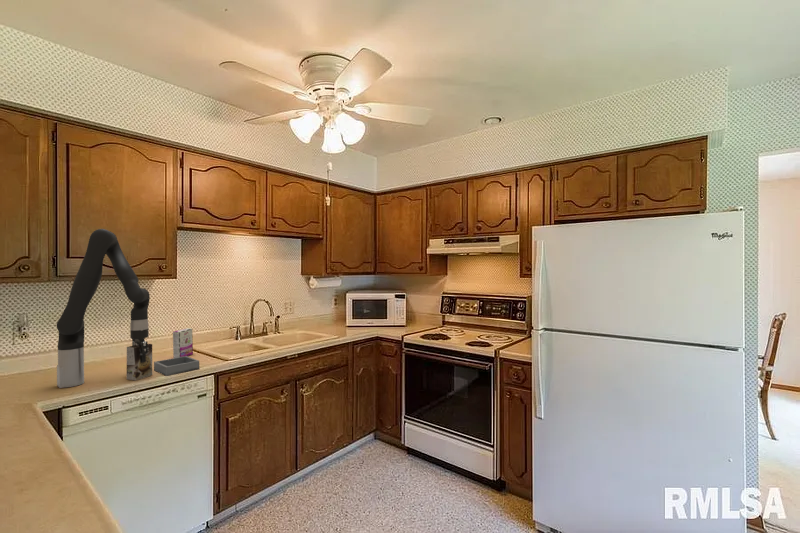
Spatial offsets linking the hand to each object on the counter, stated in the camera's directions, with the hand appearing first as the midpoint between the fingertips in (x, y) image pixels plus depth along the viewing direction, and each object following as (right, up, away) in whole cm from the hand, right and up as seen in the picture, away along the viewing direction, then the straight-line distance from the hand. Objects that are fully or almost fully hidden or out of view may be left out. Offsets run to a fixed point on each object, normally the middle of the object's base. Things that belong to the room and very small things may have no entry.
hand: (140, 360), depth 187 cm
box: (+10, -8, +13) cm, 19 cm away
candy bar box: (-3, -8, +42) cm, 43 cm away
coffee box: (0, -8, 0) cm, 8 cm away
